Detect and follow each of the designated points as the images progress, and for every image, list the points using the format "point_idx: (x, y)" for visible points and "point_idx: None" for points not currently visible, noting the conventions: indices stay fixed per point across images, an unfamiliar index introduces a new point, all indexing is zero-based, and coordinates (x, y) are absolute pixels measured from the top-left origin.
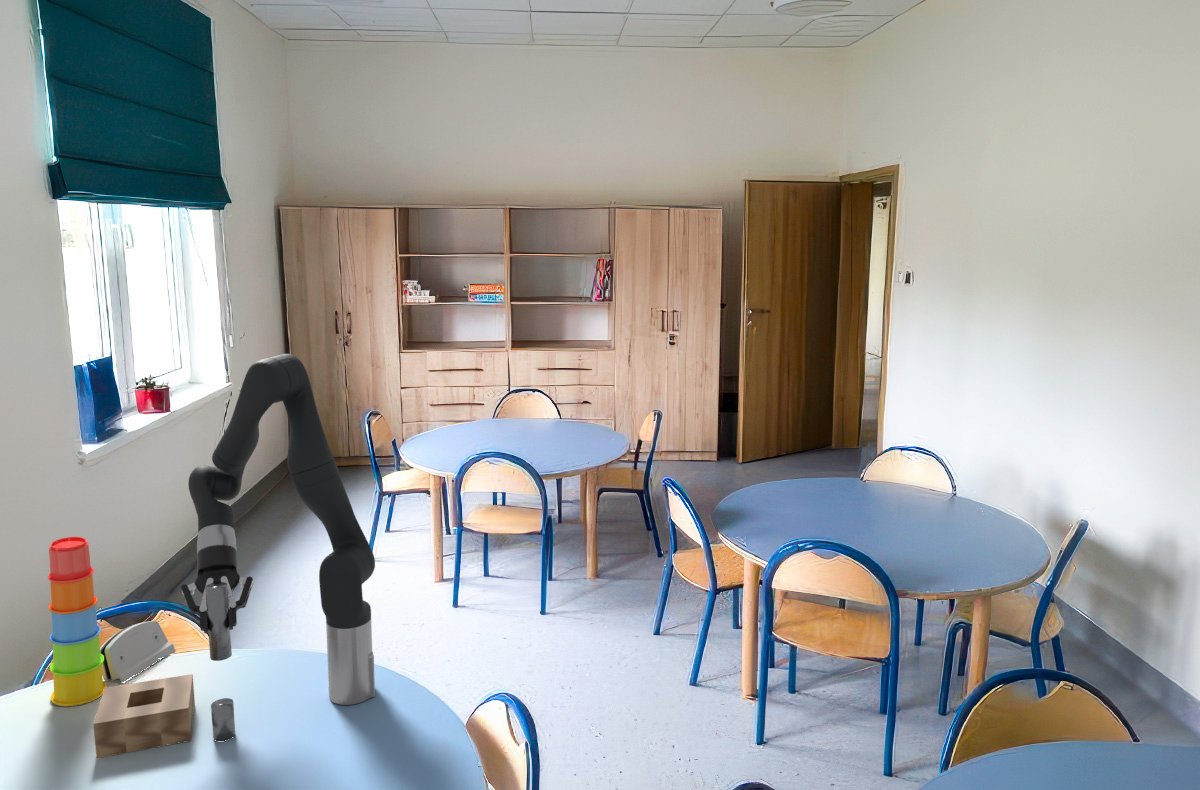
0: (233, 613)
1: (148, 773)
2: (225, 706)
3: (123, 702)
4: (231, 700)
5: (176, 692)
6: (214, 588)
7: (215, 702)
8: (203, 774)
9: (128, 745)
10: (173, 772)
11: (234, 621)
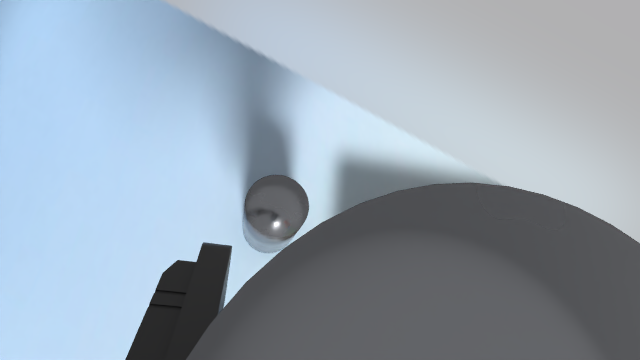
0: (164, 337)
1: (416, 159)
2: (270, 183)
3: None
4: (249, 211)
5: None
6: (560, 313)
7: (295, 220)
8: (321, 105)
9: None
10: (373, 139)
11: (179, 273)
